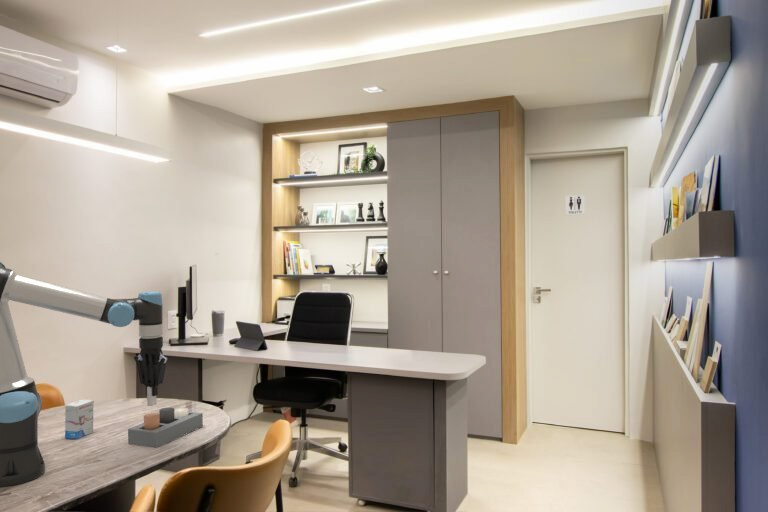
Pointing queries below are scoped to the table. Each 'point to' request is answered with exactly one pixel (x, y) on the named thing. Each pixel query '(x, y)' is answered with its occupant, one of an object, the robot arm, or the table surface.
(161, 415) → the button black
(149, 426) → the button terracotta
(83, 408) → the ink box
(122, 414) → the table surface
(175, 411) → the button ivory
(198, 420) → the panel
